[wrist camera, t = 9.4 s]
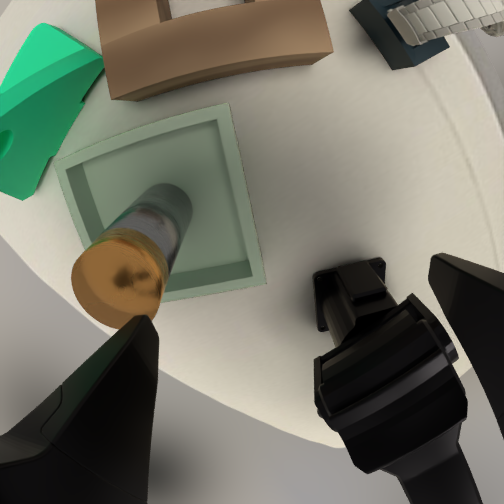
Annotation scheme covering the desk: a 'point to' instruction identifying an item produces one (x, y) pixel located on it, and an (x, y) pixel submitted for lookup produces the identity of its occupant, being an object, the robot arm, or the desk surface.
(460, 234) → the desk surface
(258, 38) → the hole block
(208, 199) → the tray
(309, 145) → the desk surface
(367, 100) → the desk surface
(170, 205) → the steel pin
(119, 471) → the robot arm
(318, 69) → the desk surface
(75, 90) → the camera mount
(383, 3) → the watch
